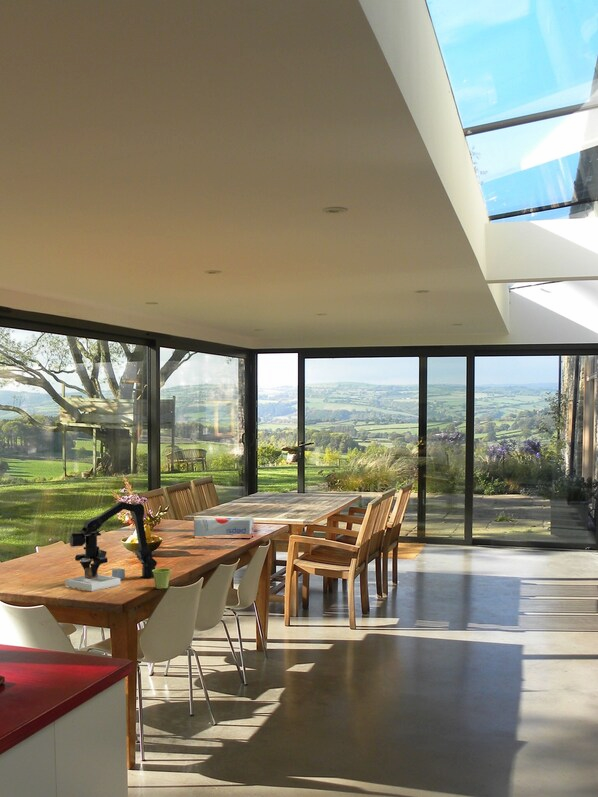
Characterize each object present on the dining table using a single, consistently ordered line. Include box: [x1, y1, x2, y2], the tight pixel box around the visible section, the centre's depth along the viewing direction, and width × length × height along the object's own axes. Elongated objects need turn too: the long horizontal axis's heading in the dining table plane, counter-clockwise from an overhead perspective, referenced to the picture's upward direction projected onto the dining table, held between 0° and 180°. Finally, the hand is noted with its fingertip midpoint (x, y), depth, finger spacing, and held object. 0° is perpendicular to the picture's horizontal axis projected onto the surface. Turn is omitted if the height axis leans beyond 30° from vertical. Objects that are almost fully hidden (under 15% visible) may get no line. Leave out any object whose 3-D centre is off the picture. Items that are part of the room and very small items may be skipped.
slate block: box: [111, 567, 126, 581], centre depth 406 cm, size 4×4×5 cm
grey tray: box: [64, 574, 121, 592], centre depth 389 cm, size 20×18×4 cm
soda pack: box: [193, 517, 254, 537], centre depth 546 cm, size 41×13×14 cm, turn 81°
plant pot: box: [152, 568, 172, 590], centre depth 385 cm, size 9×9×9 cm
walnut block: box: [84, 566, 99, 579], centre depth 393 cm, size 4×4×5 cm
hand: (91, 575), depth 393 cm, fingers closed on walnut block, 4 cm apart
